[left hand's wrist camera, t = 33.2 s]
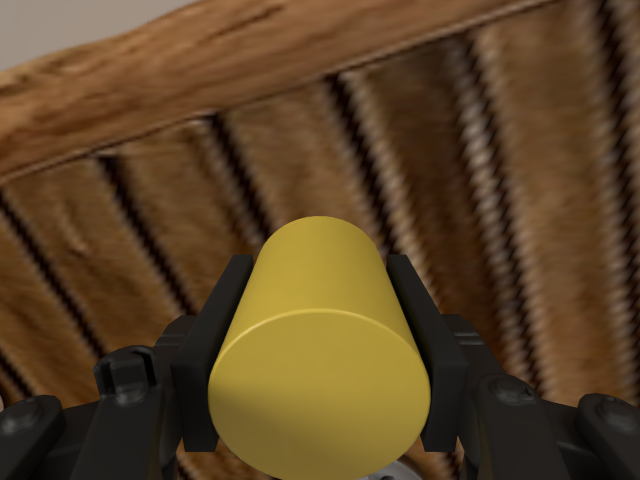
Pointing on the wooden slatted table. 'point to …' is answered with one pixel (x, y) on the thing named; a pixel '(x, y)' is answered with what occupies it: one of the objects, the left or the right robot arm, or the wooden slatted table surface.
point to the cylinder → (319, 360)
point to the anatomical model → (1, 404)
